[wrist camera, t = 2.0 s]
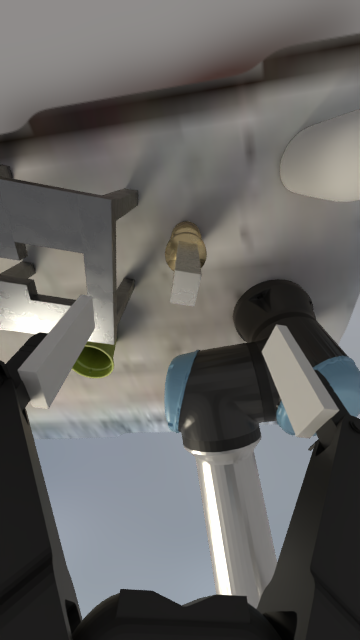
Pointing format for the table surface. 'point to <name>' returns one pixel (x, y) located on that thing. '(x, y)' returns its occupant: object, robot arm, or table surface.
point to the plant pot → (95, 360)
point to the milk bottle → (325, 160)
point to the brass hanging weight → (185, 262)
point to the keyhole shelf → (65, 234)
